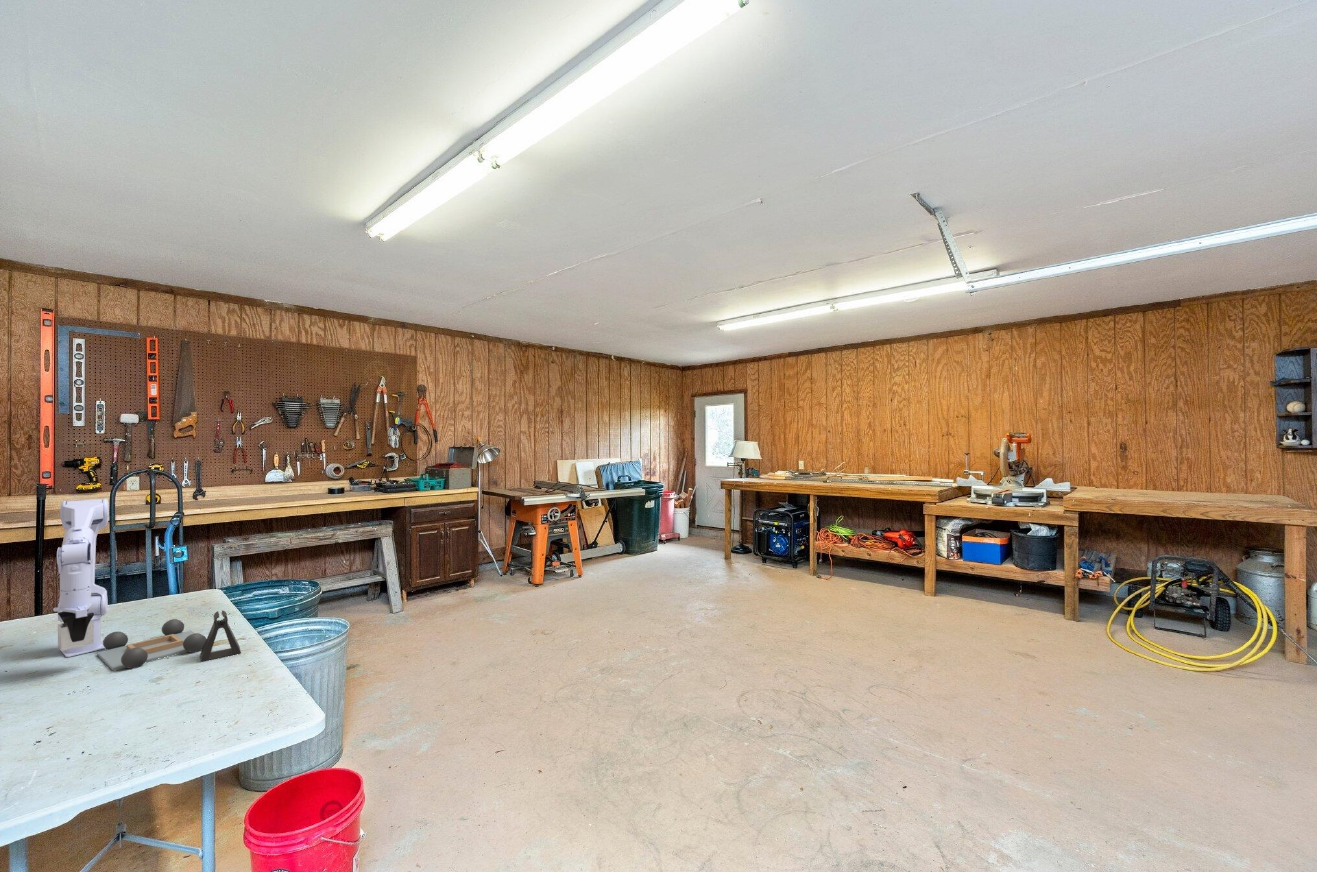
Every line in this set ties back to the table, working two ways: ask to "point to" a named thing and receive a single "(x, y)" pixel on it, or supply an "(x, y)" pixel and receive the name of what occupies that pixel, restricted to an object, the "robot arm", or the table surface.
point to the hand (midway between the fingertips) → (76, 638)
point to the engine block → (65, 638)
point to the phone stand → (208, 645)
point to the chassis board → (149, 646)
